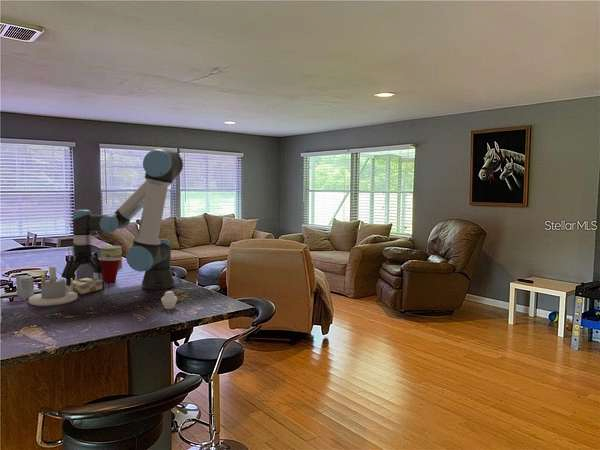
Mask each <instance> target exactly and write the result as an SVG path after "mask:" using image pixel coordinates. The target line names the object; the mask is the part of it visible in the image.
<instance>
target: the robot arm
mask: <svg viewBox="0 0 600 450" xmlns="http://www.w3.org/2000/svg"><path fill="white" fill-rule="evenodd" d="M183 167H184V162H183V159H182V158H181V155H179V154H178V153H176V152H174V151H170V150H165V149H159V148H158V149H153V150H151V151H149V152H147V153H146V154H145V156H144V158H143V161H142V169H143V170H144V172H145V174H144V179H145V181H144V182H143V183H142V184H141V185H140V186H139V187H138V188H137V189H136V190H135V191H134V192H133V194H131V195H130V196H129V197H128V198H127V199H126V200H125V201H124V203H122V205H120V207H118V209H117V210H116V211H115V212H114V213H108V214H107V213H106V214H92V211H91V210H90V209H75V210H73V211H72V230H73V233H72V236H73V238H72V239H73V241H72V242H73V253H74V255H68V256H67V261H66V264H65V267H64V268H63V271H62V273H61V276H60V277H61V279H65V282H66V286H67V287H68V291H70V292H73V280H74V278H72V277H73V276H74V275H75V273H76V271H77V269H79V267H80V266H81V265H85V264H87V265H88V266H89V267H90V268H91V269H92V271H94V272H93V278H92V279H97V280H101V277H100V276H101V275H100V274H101V272H102V271H103V267H102V265H101V263H100V261H99V259H98V258H99V256H98V252H94V251H92V250H93V245H92V243H93V238H92V232H99V233H100V232H101V233H114V232H115V231H117V230H121V229H124V228H125V229H126V228H127V227H128V226H129V225H130V223H131V220H132V219H133V218H134V217H135V216H136V215H137V214H138V213H139V212H140V211H141V210H142V212H141V216H140V222H139V228H138V229H139V230H138V234H137V236H135V237H134V238H133V242H132V246H131V247H130V248H129V249H128V250H127V253H126V255H125V258H126V259H125V260H126V263H127V264H128V266H129V267H130V268H131V269H132V270H133V271H136V272H144V274H143V279H142V280H141V288H142V289H145V290H166V289H167V290H168V289H171V288H173V287H175V286H176V284H175V283H176V282H175V279H174V276H173V272H172V267H171V266H172V263H171V262H172V258H171V257H172V249H171V248H172V245H171V240H170V239H167V238H159V236H160V230H161V226H162V225H161V224H162V218H163V214H164V208H165V204H166V198H167V192H168V187H169V186H170V185H172V184H173V181H174V180H175V179H176V178H177V177H178V176H179V175H180V174H181V172H182V170H183Z"/></svg>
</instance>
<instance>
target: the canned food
mask: <svg viewBox="0 0 600 450" xmlns="http://www.w3.org/2000/svg"><path fill="white" fill-rule="evenodd" d="M122 247H123V246H120V245H105V246H101V247H100V258H102V257H114V258H121V260H120V262H119V265H118V270H119V269H122V268H123V257H122V256H123V254H122V253H123V251H122V250H123V249H122Z"/></svg>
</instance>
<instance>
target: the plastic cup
mask: <svg viewBox="0 0 600 450" xmlns="http://www.w3.org/2000/svg"><path fill="white" fill-rule="evenodd" d="M98 259H99V261H100V263H101V265H102V267H103V271H102V272H101V273H100V274H101V275H100V276H101V278H102V279H101V280H102V282H103V283H106V284H107V283H114V282H116V280H117V276H118V270H119V269H118V265H119V262H120V260H121V258H114V257H102V258H101V257H98Z"/></svg>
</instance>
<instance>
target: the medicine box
mask: <svg viewBox="0 0 600 450" xmlns="http://www.w3.org/2000/svg"><path fill="white" fill-rule="evenodd" d="M15 279H16V283H15V284H16V296H17V297H19V298H21V299H22V300H26V299H27V300H28V299H29V297H31V296H33V295H35V293H34V291H35V290H34V289H35V288H34V278H33V277H32V276H30V275H28V274H26V275H19V276H18V275H17V276H16V278H15Z"/></svg>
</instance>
